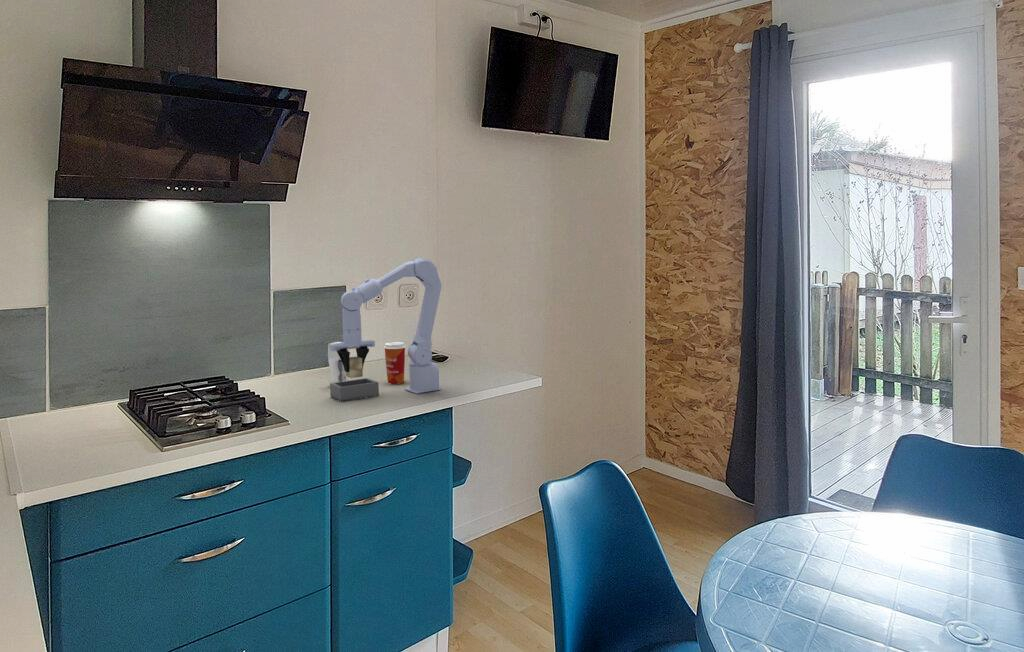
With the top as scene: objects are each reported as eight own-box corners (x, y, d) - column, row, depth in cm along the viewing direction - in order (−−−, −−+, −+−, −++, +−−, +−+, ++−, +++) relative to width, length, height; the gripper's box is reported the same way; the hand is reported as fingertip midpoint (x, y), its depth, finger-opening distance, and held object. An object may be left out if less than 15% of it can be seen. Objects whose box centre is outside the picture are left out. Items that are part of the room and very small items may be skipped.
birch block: (357, 374, 224) (356, 356, 223) (362, 376, 221) (362, 358, 220) (345, 376, 222) (345, 357, 221) (351, 378, 219) (350, 359, 218)
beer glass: (325, 387, 235) (323, 344, 233) (337, 383, 242) (335, 341, 240) (341, 389, 233) (340, 345, 231) (354, 384, 239) (352, 342, 237)
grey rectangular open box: (367, 390, 230) (367, 377, 229) (378, 395, 223) (378, 382, 222) (330, 396, 222) (329, 383, 221) (341, 401, 215) (340, 387, 215)
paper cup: (380, 382, 242) (379, 343, 241) (399, 379, 248) (397, 340, 246) (392, 386, 237) (391, 346, 235) (411, 382, 242) (410, 343, 240)
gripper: (367, 325, 227) (369, 366, 229) (325, 329, 218) (327, 371, 220) (377, 328, 221) (378, 369, 223) (334, 332, 213) (336, 375, 215)
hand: (353, 370), depth 221 cm, fingers closed on birch block, 4 cm apart
